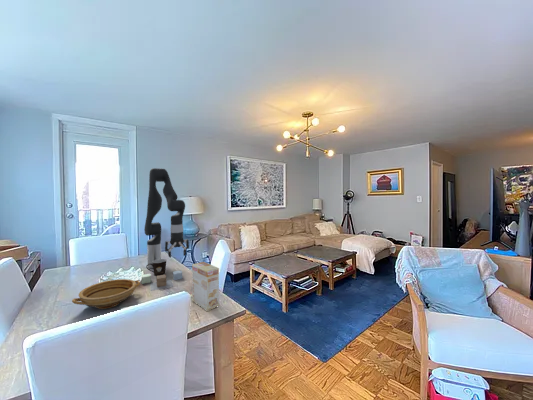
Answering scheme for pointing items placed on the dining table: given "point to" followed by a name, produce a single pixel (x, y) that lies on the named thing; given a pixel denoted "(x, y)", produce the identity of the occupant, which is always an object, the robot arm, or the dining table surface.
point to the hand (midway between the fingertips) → (177, 256)
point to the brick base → (161, 280)
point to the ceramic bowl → (106, 293)
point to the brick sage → (146, 278)
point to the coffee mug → (158, 267)
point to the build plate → (154, 286)
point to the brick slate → (177, 275)
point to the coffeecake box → (205, 285)
